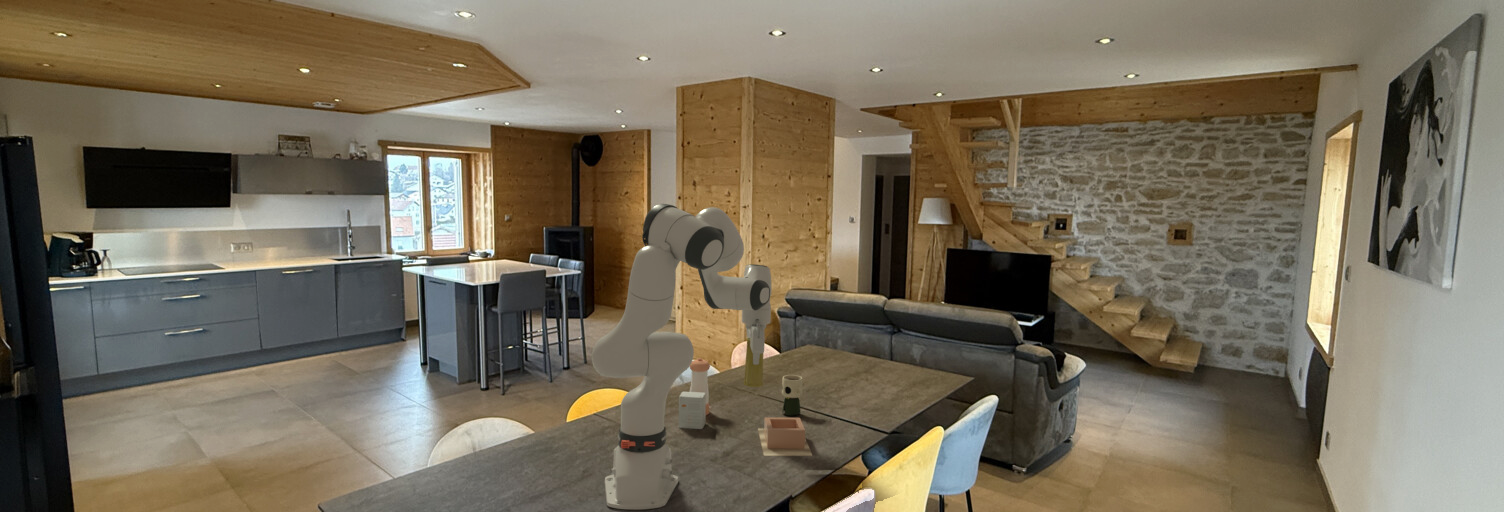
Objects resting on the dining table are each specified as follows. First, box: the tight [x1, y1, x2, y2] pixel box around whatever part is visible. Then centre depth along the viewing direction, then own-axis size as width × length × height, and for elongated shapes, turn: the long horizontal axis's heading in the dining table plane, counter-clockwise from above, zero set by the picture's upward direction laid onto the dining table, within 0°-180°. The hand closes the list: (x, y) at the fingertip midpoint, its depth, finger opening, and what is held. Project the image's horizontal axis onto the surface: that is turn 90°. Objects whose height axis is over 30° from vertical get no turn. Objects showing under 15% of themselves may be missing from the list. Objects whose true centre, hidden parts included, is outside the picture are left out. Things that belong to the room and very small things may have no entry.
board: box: [757, 428, 813, 457], centre depth 196 cm, size 22×14×1 cm, turn 4°
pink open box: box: [763, 417, 806, 448], centre depth 196 cm, size 11×11×6 cm
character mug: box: [781, 374, 804, 416], centre depth 224 cm, size 11×7×13 cm, turn 30°
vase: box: [743, 337, 764, 388], centre depth 200 cm, size 6×6×14 cm
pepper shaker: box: [689, 357, 711, 416], centre depth 223 cm, size 7×7×19 cm
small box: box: [678, 391, 707, 430], centre depth 210 cm, size 8×6×10 cm
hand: (754, 361), depth 200 cm, fingers closed on vase, 5 cm apart
